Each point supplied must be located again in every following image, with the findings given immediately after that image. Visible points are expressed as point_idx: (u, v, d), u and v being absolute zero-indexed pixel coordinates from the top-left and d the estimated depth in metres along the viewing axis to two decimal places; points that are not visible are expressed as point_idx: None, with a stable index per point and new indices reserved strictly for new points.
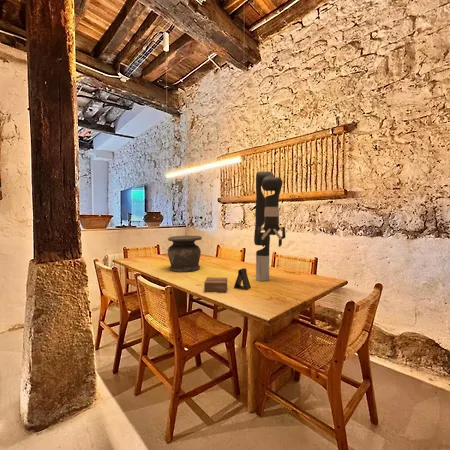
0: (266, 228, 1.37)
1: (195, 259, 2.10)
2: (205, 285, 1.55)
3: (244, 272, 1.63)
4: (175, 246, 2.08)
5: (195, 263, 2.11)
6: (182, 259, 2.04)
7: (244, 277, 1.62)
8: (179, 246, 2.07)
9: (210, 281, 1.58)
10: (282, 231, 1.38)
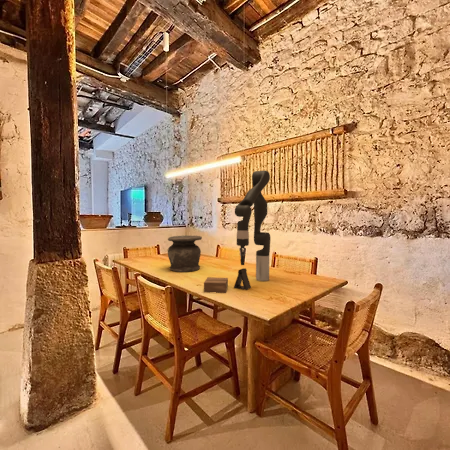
0: (244, 248, 1.60)
1: (195, 259, 2.10)
2: (205, 285, 1.55)
3: (244, 272, 1.63)
4: (175, 246, 2.08)
5: (195, 263, 2.11)
6: (182, 259, 2.04)
7: (244, 277, 1.62)
8: (179, 246, 2.07)
9: (210, 281, 1.58)
10: None
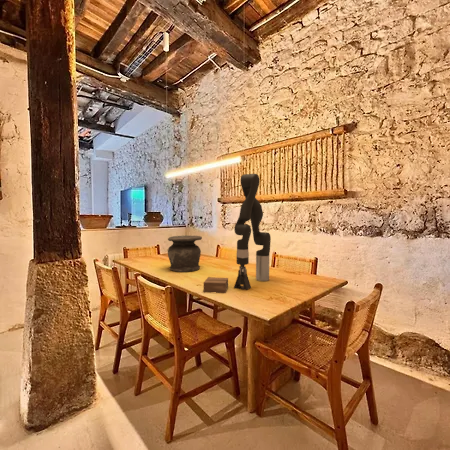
0: (244, 267, 1.61)
1: (195, 259, 2.10)
2: (204, 285, 1.55)
3: None
4: (175, 246, 2.08)
5: (195, 263, 2.11)
6: (182, 259, 2.04)
7: None
8: (179, 246, 2.07)
9: (210, 281, 1.58)
10: None
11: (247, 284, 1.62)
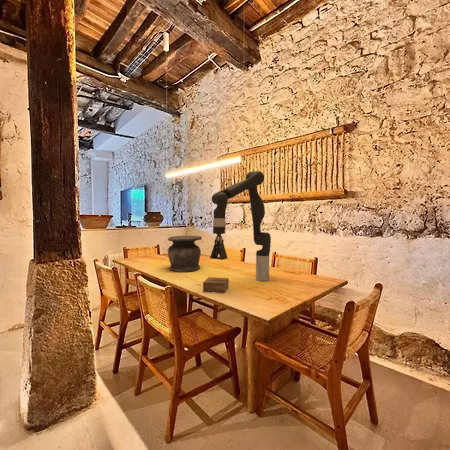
0: (220, 237, 1.57)
1: (195, 259, 2.10)
2: (204, 285, 1.56)
3: None
4: (175, 246, 2.08)
5: (195, 263, 2.11)
6: (182, 259, 2.04)
7: None
8: (179, 246, 2.07)
9: (209, 281, 1.58)
10: None
11: (223, 254, 1.58)
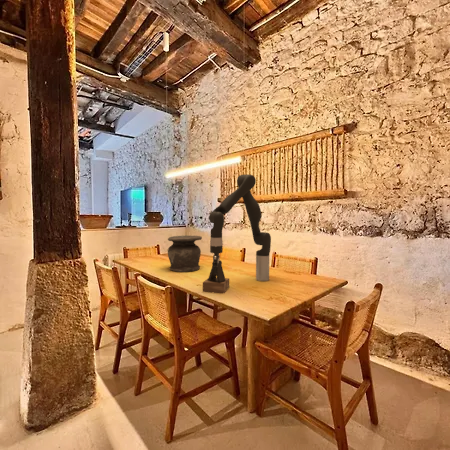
0: (217, 256, 1.57)
1: (195, 259, 2.10)
2: (203, 285, 1.56)
3: (219, 264, 1.59)
4: (175, 246, 2.08)
5: (195, 263, 2.11)
6: (182, 259, 2.04)
7: (218, 269, 1.57)
8: (179, 246, 2.07)
9: (209, 281, 1.58)
10: None
11: (221, 277, 1.57)
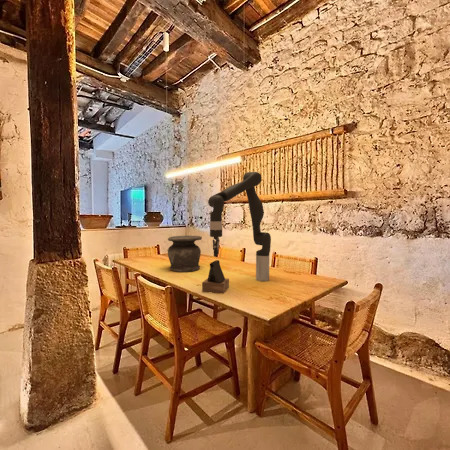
0: (217, 240, 1.57)
1: (195, 259, 2.10)
2: (203, 285, 1.55)
3: (216, 265, 1.56)
4: (175, 246, 2.08)
5: (195, 263, 2.11)
6: (182, 259, 2.04)
7: (216, 270, 1.55)
8: (179, 246, 2.07)
9: None
10: None
11: (220, 277, 1.56)
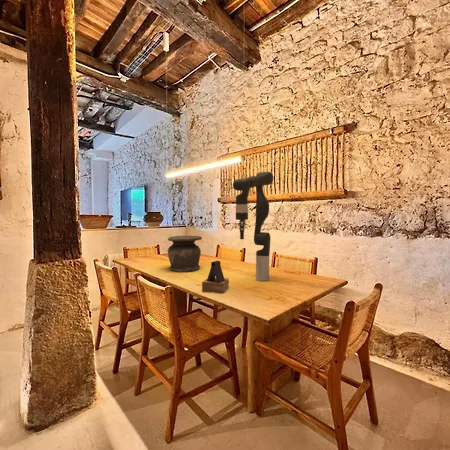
0: (243, 223, 1.58)
1: (195, 259, 2.10)
2: (203, 285, 1.56)
3: (217, 264, 1.58)
4: (175, 246, 2.08)
5: (195, 263, 2.11)
6: (182, 259, 2.04)
7: (217, 269, 1.57)
8: (179, 246, 2.07)
9: (209, 281, 1.58)
10: None
11: (220, 277, 1.57)
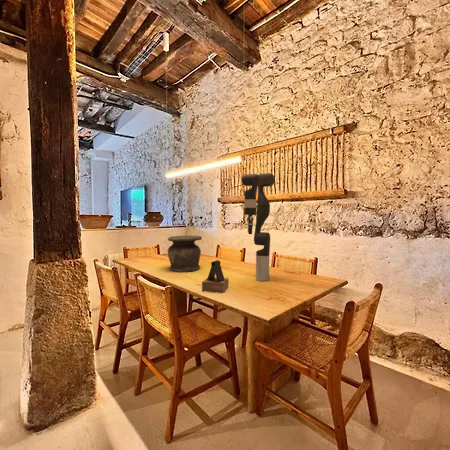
0: None
1: (195, 259, 2.10)
2: (203, 284, 1.57)
3: (217, 264, 1.59)
4: (175, 246, 2.08)
5: (195, 263, 2.11)
6: (182, 259, 2.04)
7: (217, 269, 1.58)
8: (179, 246, 2.07)
9: None
10: None
11: (220, 276, 1.58)
